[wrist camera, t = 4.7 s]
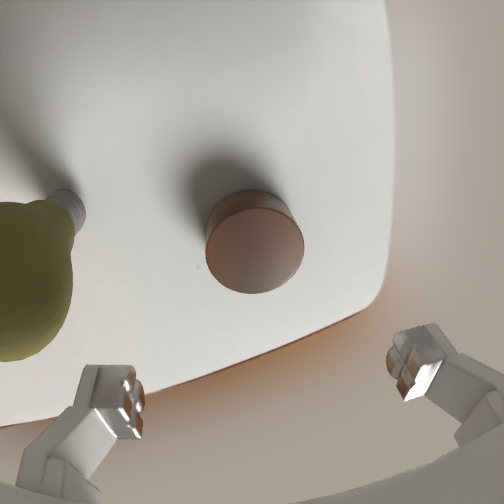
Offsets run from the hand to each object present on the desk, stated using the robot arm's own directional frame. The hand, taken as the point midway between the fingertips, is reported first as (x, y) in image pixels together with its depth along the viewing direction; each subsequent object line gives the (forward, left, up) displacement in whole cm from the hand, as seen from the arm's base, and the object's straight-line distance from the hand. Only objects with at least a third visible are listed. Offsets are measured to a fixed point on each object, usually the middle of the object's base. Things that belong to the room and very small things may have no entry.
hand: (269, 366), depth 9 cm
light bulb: (+9, -3, -9) cm, 13 cm away
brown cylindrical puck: (0, 0, -9) cm, 9 cm away
